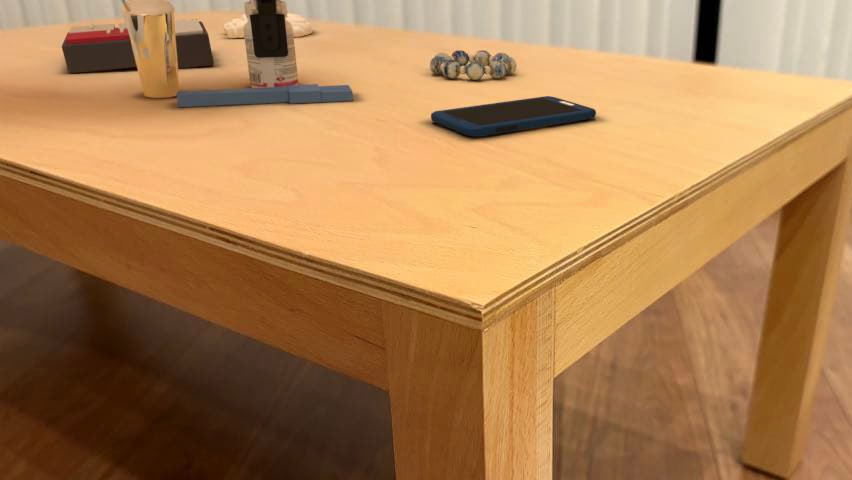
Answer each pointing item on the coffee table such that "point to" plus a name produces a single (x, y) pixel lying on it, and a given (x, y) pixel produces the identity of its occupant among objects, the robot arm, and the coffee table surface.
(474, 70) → the bracelet
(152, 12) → the milkshake
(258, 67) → the pill bottle
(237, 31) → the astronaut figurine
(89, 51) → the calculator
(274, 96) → the blue ruler strip
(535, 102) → the cell phone
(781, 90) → the coffee table surface
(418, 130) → the coffee table surface
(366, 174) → the coffee table surface
